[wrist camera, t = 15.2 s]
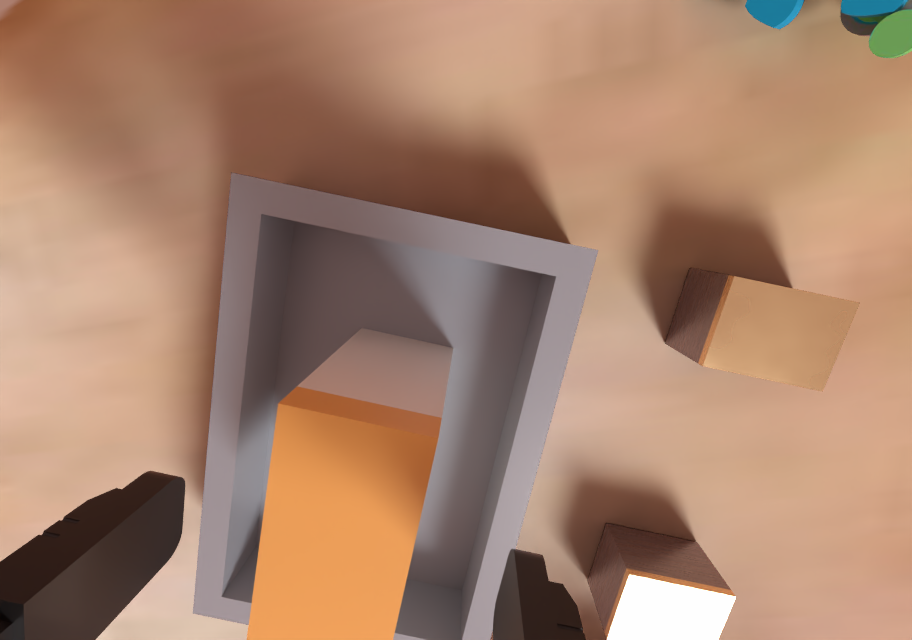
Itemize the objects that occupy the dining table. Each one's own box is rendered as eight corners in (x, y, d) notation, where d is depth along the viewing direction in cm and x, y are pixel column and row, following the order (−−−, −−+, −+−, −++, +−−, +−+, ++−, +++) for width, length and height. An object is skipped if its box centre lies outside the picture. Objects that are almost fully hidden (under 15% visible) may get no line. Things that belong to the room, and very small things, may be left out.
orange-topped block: (453, 348, 16) (438, 438, 9) (417, 508, 17) (381, 689, 11) (361, 327, 16) (278, 403, 9) (333, 490, 17) (244, 659, 11)
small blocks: (793, 289, 16) (860, 302, 13) (675, 598, 19) (709, 660, 16) (689, 267, 16) (734, 276, 13) (587, 580, 19) (606, 639, 16)
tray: (571, 245, 16) (598, 250, 13) (479, 594, 19) (480, 673, 16) (283, 184, 16) (231, 172, 12) (242, 545, 19) (192, 613, 16)
